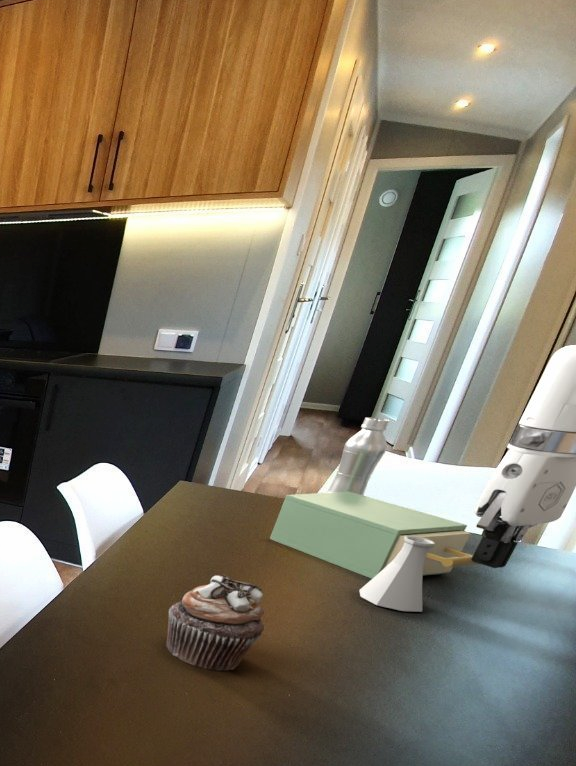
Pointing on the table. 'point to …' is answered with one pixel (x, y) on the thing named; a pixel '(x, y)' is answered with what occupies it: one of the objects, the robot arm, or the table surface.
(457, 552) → the drawer
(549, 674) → the table surface
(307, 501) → the cabinet
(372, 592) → the flask
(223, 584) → the cupcake
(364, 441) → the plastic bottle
